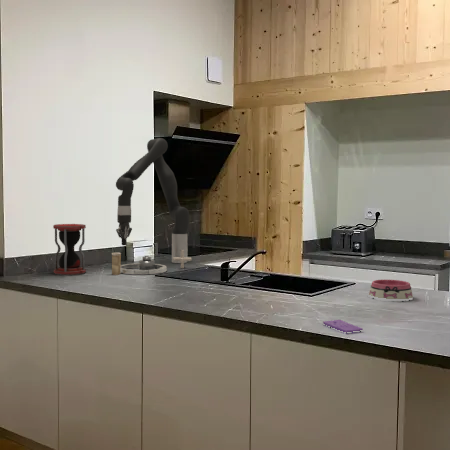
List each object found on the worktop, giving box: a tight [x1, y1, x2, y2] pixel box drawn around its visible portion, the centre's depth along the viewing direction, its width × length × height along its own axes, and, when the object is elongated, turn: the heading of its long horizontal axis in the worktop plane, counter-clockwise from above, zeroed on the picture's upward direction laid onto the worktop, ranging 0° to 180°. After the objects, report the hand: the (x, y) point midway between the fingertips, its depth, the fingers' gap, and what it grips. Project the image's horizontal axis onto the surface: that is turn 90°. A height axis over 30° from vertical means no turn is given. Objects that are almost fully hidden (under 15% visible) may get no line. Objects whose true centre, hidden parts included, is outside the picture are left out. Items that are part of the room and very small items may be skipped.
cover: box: [138, 255, 155, 270], centre depth 310 cm, size 8×8×8 cm
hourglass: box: [52, 223, 87, 276], centre depth 296 cm, size 16×16×25 cm
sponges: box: [322, 319, 364, 333], centre depth 188 cm, size 7×13×2 cm, turn 26°
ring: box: [120, 255, 168, 275], centre depth 306 cm, size 26×30×8 cm
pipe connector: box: [173, 250, 192, 269], centre depth 318 cm, size 10×10×10 cm
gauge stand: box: [111, 252, 122, 276], centre depth 293 cm, size 4×4×11 cm
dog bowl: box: [368, 279, 414, 299], centre depth 242 cm, size 18×19×7 cm
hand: (124, 245), depth 317 cm, fingers closed
